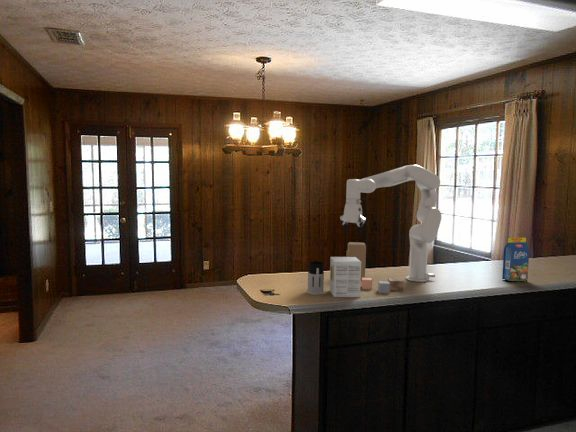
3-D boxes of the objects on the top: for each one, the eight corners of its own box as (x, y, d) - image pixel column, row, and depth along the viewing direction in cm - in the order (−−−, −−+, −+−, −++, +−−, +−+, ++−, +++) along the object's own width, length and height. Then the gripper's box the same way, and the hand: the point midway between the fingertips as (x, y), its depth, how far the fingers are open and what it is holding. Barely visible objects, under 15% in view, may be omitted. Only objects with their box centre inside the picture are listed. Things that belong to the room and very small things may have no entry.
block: (363, 276, 264) (364, 242, 263) (365, 279, 254) (366, 244, 253) (346, 275, 265) (347, 241, 264) (347, 279, 255) (348, 244, 254)
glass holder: (323, 290, 228) (323, 261, 227) (326, 297, 214) (327, 266, 213) (306, 290, 228) (306, 260, 227) (308, 297, 214) (308, 266, 213)
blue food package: (527, 281, 256) (530, 238, 254) (509, 282, 254) (512, 238, 252) (519, 279, 263) (522, 236, 261) (501, 280, 260) (504, 237, 258)
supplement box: (329, 290, 228) (329, 256, 227) (354, 290, 229) (355, 256, 227) (333, 297, 215) (334, 261, 213) (360, 297, 216) (361, 261, 214)
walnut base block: (401, 287, 238) (401, 278, 237) (403, 290, 231) (403, 281, 230) (387, 287, 238) (388, 277, 238) (389, 290, 231) (389, 280, 231)
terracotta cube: (370, 287, 237) (371, 277, 237) (371, 289, 232) (372, 280, 232) (361, 286, 237) (361, 277, 237) (362, 289, 232) (362, 279, 232)
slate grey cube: (388, 291, 229) (388, 281, 229) (389, 293, 224) (389, 283, 224) (378, 290, 230) (378, 281, 229) (379, 293, 225) (379, 283, 224)
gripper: (370, 202, 241) (368, 234, 242) (345, 201, 254) (344, 231, 255) (361, 202, 236) (360, 235, 237) (336, 201, 249) (335, 231, 250)
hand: (352, 233), depth 246 cm, fingers open, 9 cm apart
